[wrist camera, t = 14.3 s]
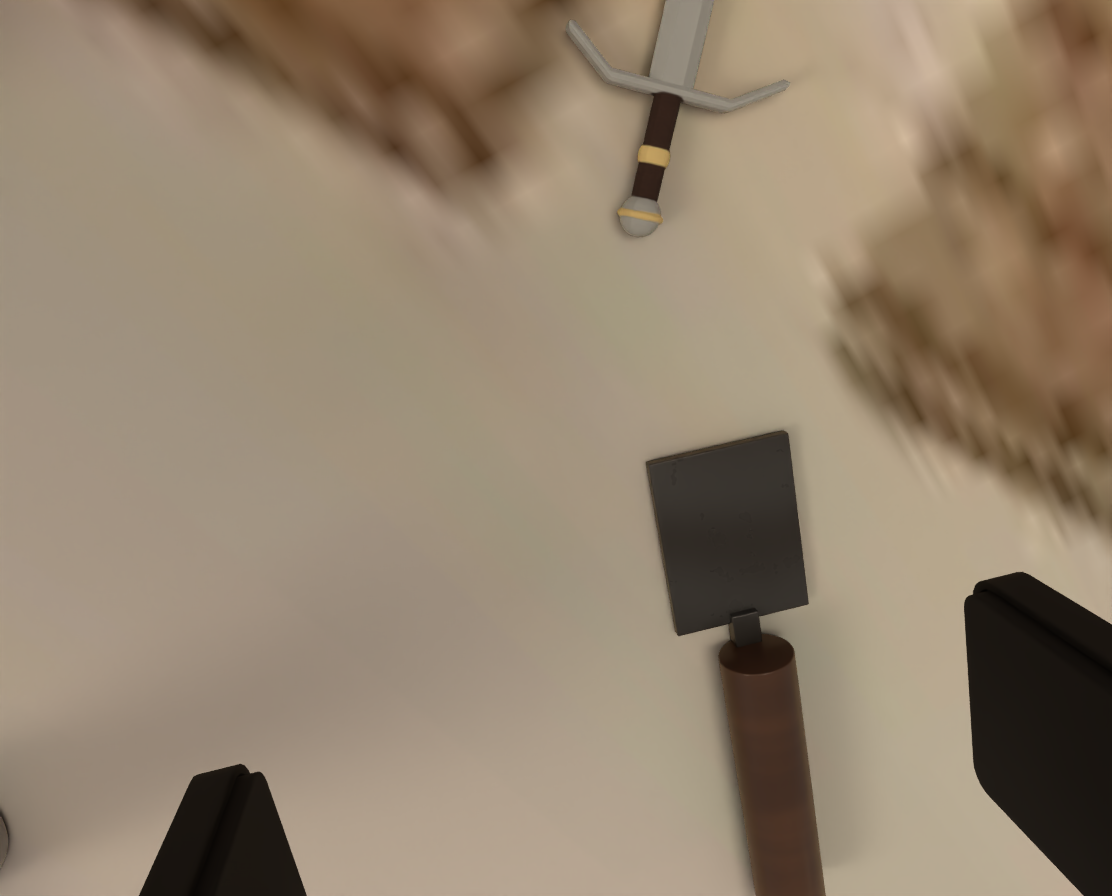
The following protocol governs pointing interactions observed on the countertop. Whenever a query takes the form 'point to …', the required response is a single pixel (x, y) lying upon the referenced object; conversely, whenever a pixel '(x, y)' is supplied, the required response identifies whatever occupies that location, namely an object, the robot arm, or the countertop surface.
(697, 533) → the spatula
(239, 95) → the countertop surface
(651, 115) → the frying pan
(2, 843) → the lotion bottle
